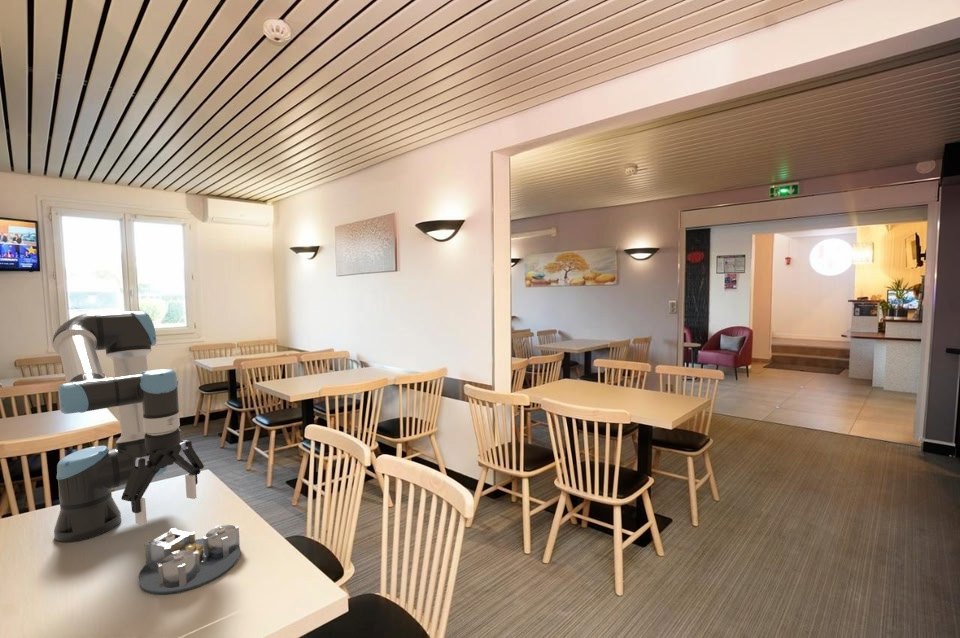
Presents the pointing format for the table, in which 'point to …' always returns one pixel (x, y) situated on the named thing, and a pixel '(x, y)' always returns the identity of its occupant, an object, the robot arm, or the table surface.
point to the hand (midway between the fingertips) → (167, 510)
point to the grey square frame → (167, 545)
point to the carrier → (193, 563)
